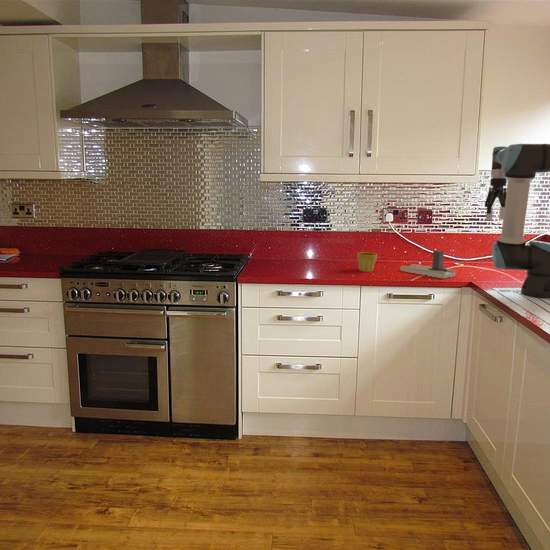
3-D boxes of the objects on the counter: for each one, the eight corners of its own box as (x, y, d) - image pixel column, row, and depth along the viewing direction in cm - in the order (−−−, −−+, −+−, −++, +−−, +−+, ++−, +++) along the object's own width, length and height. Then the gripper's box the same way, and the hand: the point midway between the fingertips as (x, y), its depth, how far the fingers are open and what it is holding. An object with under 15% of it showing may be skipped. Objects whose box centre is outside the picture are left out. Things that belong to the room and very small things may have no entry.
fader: (446, 271, 261) (447, 251, 259) (438, 272, 256) (440, 251, 255) (435, 269, 265) (437, 249, 264) (428, 271, 261) (429, 250, 259)
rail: (454, 276, 259) (455, 270, 259) (444, 278, 253) (444, 272, 252) (411, 270, 279) (411, 264, 278) (400, 271, 272) (400, 265, 272)
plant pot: (378, 271, 273) (379, 253, 271) (371, 274, 264) (373, 255, 262) (360, 269, 278) (361, 251, 276) (353, 272, 269) (354, 253, 267)
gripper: (503, 178, 270) (499, 219, 274) (479, 177, 254) (476, 220, 257) (517, 178, 265) (513, 219, 268) (494, 177, 249) (490, 220, 252)
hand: (495, 220), depth 263 cm, fingers open, 13 cm apart
